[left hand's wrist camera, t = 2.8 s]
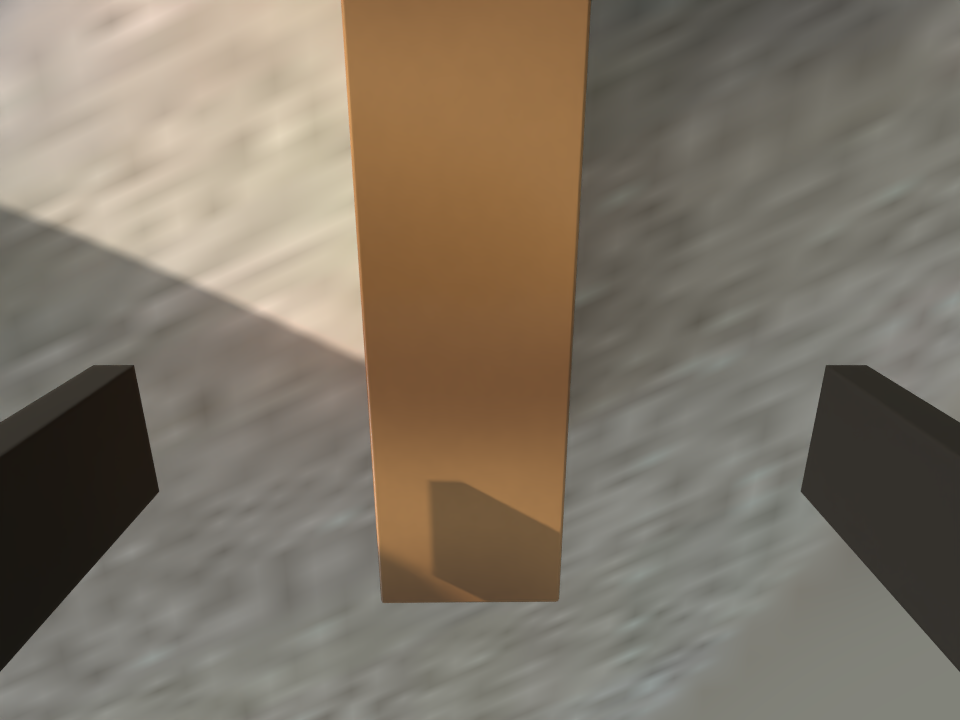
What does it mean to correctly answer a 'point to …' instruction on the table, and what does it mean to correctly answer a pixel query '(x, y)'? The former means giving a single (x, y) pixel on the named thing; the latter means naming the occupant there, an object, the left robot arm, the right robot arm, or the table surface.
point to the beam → (467, 284)
